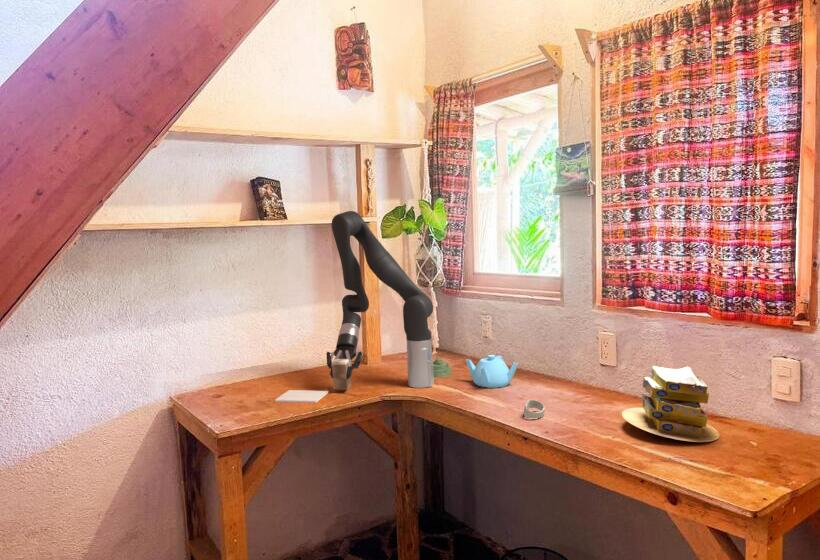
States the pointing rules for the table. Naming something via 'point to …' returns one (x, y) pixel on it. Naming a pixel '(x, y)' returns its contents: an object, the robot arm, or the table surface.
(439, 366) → the decorative artifact
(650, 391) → the stacked boxes on plate
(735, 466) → the table surface
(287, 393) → the white mat
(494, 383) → the teapot
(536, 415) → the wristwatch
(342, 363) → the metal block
